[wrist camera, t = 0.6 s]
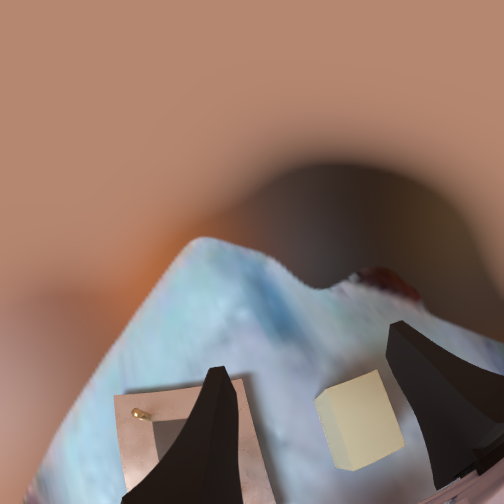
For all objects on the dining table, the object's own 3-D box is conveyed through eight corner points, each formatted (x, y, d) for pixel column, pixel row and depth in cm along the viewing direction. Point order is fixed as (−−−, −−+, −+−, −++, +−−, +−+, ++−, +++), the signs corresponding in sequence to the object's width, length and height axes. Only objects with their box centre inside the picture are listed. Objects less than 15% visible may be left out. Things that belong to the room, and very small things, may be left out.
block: (379, 448, 20) (405, 445, 16) (335, 467, 19) (353, 471, 15) (356, 385, 25) (376, 369, 21) (313, 400, 25) (326, 388, 20)
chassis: (278, 510, 17) (280, 520, 13) (141, 520, 15) (125, 527, 12) (242, 382, 26) (240, 371, 23) (119, 398, 24) (102, 389, 21)
